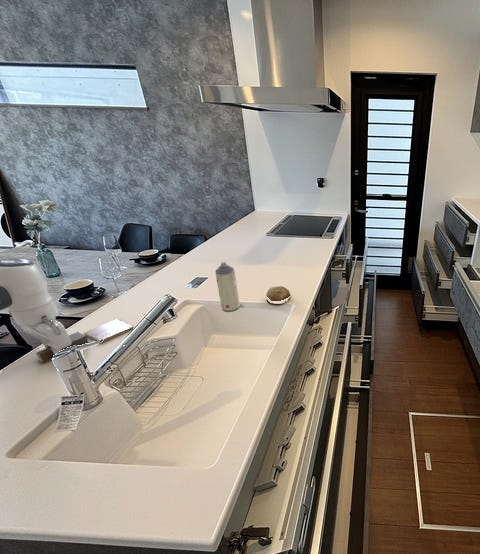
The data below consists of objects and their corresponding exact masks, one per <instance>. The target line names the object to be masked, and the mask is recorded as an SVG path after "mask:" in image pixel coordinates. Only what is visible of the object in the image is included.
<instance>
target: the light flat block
mask: <svg viewBox="0 0 480 554" xmlns="http://www.w3.org/2000/svg"><path fill="white" fill-rule="evenodd" d="M133 328H134V326H133V325H131V324H129V323H126V322H124V321H122V320H119V319H113V320H111V321H108V322H106V323H104V324H101V325H99V326H96V327H94V328H92V329H88V330H87V331H85V332H83V335H85V336H86V337H87V338H89V339H92V340H93V341H96V340H99V339H104V341H103V342H102V343H101V344H104V343H106V342H108V341H110V340H113V339H114V338H117V337H118V336H121V335H123V334H125V333H128V332H129V331H132V330H134V329H133ZM96 342H97V341H96Z"/></svg>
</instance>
